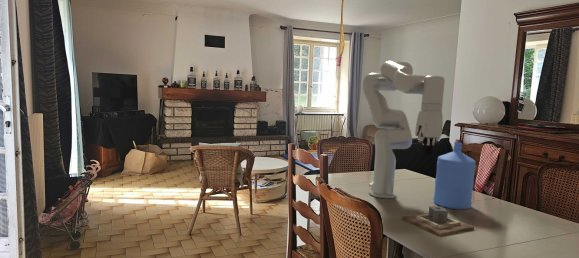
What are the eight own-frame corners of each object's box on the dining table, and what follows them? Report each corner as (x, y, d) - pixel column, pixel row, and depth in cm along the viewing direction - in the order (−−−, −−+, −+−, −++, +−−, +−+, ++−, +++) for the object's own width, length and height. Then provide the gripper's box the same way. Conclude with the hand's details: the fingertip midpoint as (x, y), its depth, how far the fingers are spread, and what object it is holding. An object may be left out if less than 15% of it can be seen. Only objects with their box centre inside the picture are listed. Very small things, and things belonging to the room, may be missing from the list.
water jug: (475, 212, 163) (482, 146, 159) (436, 207, 166) (442, 143, 162) (466, 201, 178) (472, 141, 175) (430, 197, 181) (436, 139, 178)
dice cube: (440, 219, 148) (442, 206, 147) (446, 223, 143) (448, 211, 142) (428, 218, 148) (429, 206, 147) (433, 223, 143) (434, 210, 142)
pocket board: (402, 218, 149) (402, 213, 149) (435, 213, 157) (435, 209, 157) (439, 236, 133) (440, 230, 133) (474, 229, 142) (474, 224, 141)
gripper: (437, 107, 154) (433, 152, 156) (409, 107, 147) (405, 154, 149) (453, 109, 147) (448, 156, 150) (424, 108, 141) (420, 157, 143)
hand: (427, 155), depth 149 cm, fingers closed
